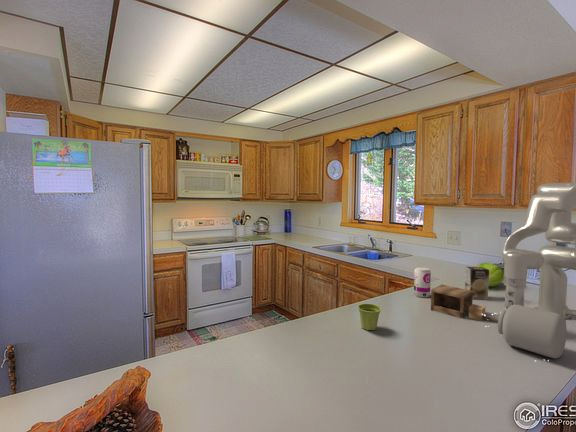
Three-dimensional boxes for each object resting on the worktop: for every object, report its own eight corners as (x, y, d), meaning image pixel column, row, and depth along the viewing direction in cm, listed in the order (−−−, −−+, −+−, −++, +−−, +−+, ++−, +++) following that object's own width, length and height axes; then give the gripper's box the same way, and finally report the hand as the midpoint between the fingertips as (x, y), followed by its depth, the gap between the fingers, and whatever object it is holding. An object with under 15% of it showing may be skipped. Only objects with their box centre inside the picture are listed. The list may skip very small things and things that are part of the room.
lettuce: (501, 297, 172) (471, 294, 183) (509, 280, 187) (481, 279, 198) (496, 272, 171) (466, 271, 182) (505, 258, 186) (477, 257, 197)
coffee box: (469, 299, 162) (470, 269, 161) (464, 295, 168) (465, 266, 167) (488, 299, 161) (489, 269, 160) (481, 296, 167) (483, 266, 166)
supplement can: (433, 296, 166) (434, 269, 165) (421, 298, 163) (422, 270, 162) (421, 292, 174) (422, 266, 173) (410, 294, 171) (411, 267, 170)
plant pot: (380, 324, 130) (381, 304, 130) (381, 334, 121) (381, 312, 121) (358, 322, 133) (358, 302, 132) (357, 331, 124) (357, 310, 123)
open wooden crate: (472, 311, 145) (472, 290, 144) (462, 318, 137) (463, 296, 136) (441, 304, 155) (441, 284, 154) (430, 310, 147) (431, 289, 146)
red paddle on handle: (518, 326, 129) (518, 312, 128) (515, 329, 125) (516, 315, 125) (472, 314, 141) (472, 301, 141) (468, 317, 138) (469, 304, 137)
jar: (547, 357, 94) (466, 318, 116) (552, 379, 101) (475, 339, 122) (575, 311, 99) (492, 282, 120) (578, 335, 106) (500, 304, 127)
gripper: (520, 288, 118) (518, 333, 119) (530, 279, 130) (528, 321, 131) (497, 284, 124) (496, 327, 125) (509, 276, 135) (507, 315, 137)
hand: (512, 323), depth 128 cm, fingers open, 7 cm apart
